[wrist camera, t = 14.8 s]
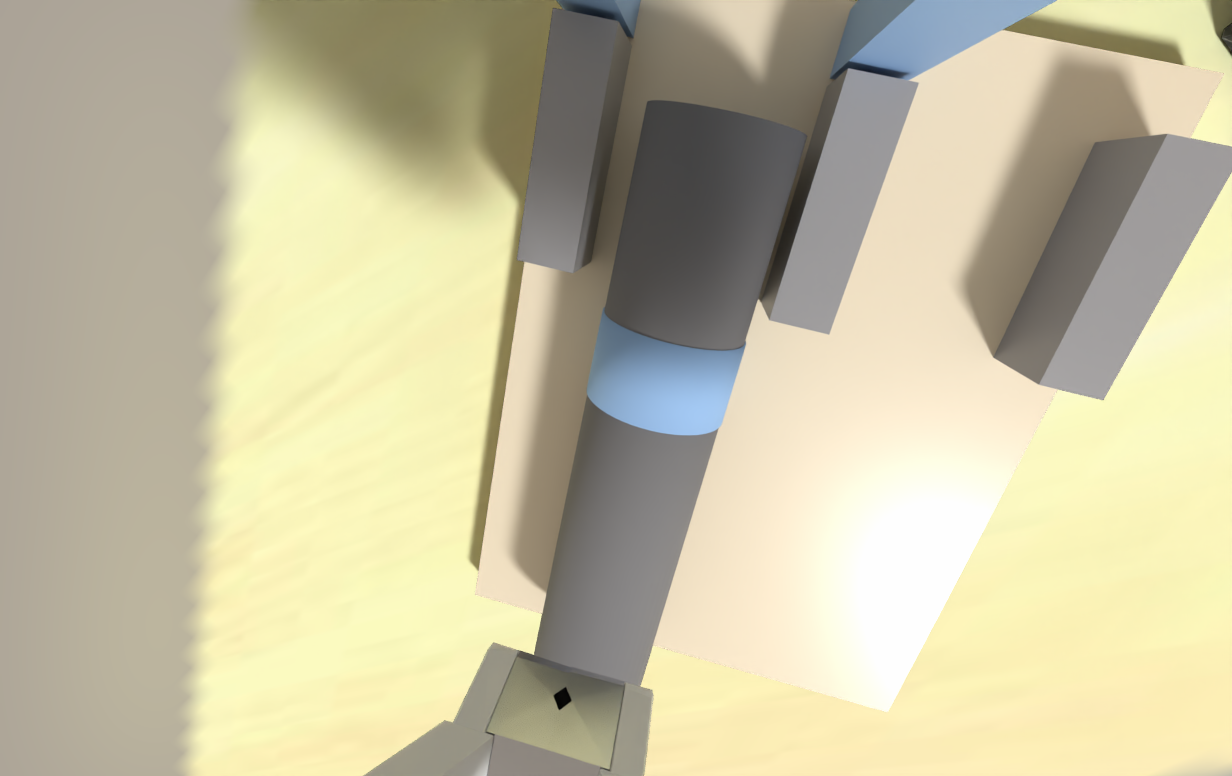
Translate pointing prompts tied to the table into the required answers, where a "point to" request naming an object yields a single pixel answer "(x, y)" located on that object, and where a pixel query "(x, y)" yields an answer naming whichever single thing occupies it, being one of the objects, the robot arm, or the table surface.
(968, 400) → the beige base board
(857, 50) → the blue arch frame
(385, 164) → the table surface
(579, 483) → the gray banded cylinder
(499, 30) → the table surface
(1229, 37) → the ammunition clip
